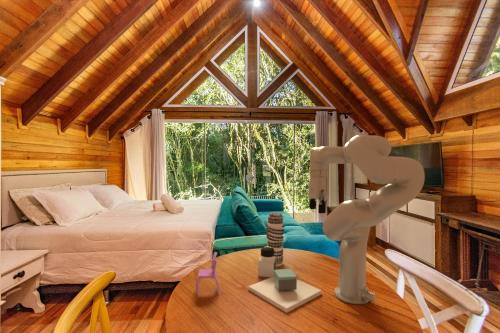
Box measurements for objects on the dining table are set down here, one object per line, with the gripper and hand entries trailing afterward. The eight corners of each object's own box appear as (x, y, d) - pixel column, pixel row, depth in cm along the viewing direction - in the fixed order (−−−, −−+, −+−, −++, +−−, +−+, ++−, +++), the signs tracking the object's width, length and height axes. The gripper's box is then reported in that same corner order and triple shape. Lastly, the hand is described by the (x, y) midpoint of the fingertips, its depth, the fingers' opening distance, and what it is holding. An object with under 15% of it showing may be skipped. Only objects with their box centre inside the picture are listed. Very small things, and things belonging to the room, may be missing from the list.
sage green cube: (290, 281, 106) (290, 268, 106) (296, 289, 99) (296, 276, 99) (273, 282, 105) (274, 269, 105) (278, 290, 98) (278, 277, 98)
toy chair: (197, 286, 105) (198, 249, 105) (219, 285, 106) (220, 249, 106) (195, 297, 97) (195, 257, 97) (219, 296, 98) (219, 256, 98)
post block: (321, 294, 101) (321, 277, 101) (286, 312, 88) (286, 293, 88) (282, 276, 116) (283, 261, 116) (248, 289, 103) (248, 273, 103)
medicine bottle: (274, 278, 114) (274, 251, 114) (257, 276, 115) (258, 249, 115) (275, 271, 121) (276, 245, 121) (260, 270, 122) (260, 244, 122)
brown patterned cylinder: (273, 258, 138) (274, 210, 137) (287, 263, 131) (288, 213, 130) (261, 262, 132) (262, 213, 131) (275, 268, 125) (276, 216, 124)
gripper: (303, 173, 129) (302, 207, 129) (318, 175, 112) (317, 215, 112) (317, 173, 130) (316, 207, 131) (334, 175, 113) (333, 214, 114)
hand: (317, 211), depth 121 cm, fingers open, 9 cm apart
